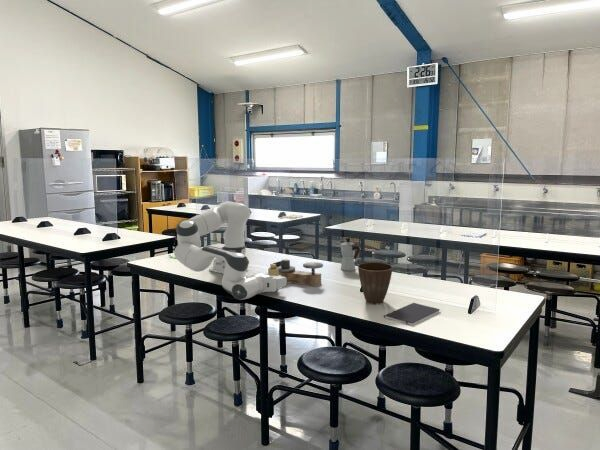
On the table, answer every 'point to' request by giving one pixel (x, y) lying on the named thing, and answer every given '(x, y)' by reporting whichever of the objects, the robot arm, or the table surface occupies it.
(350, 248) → the coffee maker
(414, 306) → the notebook
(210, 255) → the robot arm
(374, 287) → the plant pot
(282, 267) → the balance
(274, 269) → the brass weight
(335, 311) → the table surface
